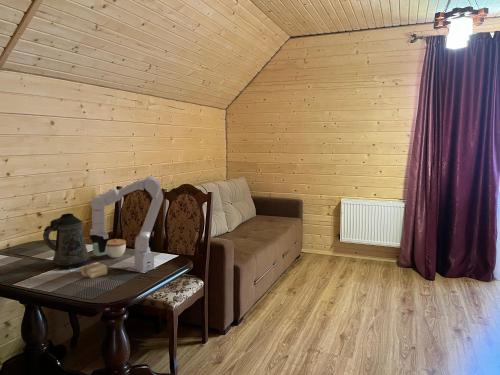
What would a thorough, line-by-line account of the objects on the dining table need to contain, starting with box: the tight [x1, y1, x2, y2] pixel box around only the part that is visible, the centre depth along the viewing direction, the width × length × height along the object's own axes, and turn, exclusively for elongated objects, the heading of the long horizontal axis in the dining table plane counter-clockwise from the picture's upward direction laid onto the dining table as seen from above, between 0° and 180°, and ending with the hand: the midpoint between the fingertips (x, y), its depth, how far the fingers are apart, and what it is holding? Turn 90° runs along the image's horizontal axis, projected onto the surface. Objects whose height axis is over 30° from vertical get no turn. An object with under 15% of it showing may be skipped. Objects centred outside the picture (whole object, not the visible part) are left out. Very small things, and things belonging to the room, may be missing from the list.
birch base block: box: [80, 262, 108, 279], centre depth 181 cm, size 8×8×4 cm
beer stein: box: [42, 212, 90, 270], centre depth 190 cm, size 16×19×25 cm
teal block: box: [92, 243, 107, 257], centre depth 184 cm, size 4×4×5 cm
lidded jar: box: [106, 238, 127, 259], centre depth 207 cm, size 11×11×9 cm
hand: (99, 251), depth 184 cm, fingers closed on teal block, 4 cm apart
